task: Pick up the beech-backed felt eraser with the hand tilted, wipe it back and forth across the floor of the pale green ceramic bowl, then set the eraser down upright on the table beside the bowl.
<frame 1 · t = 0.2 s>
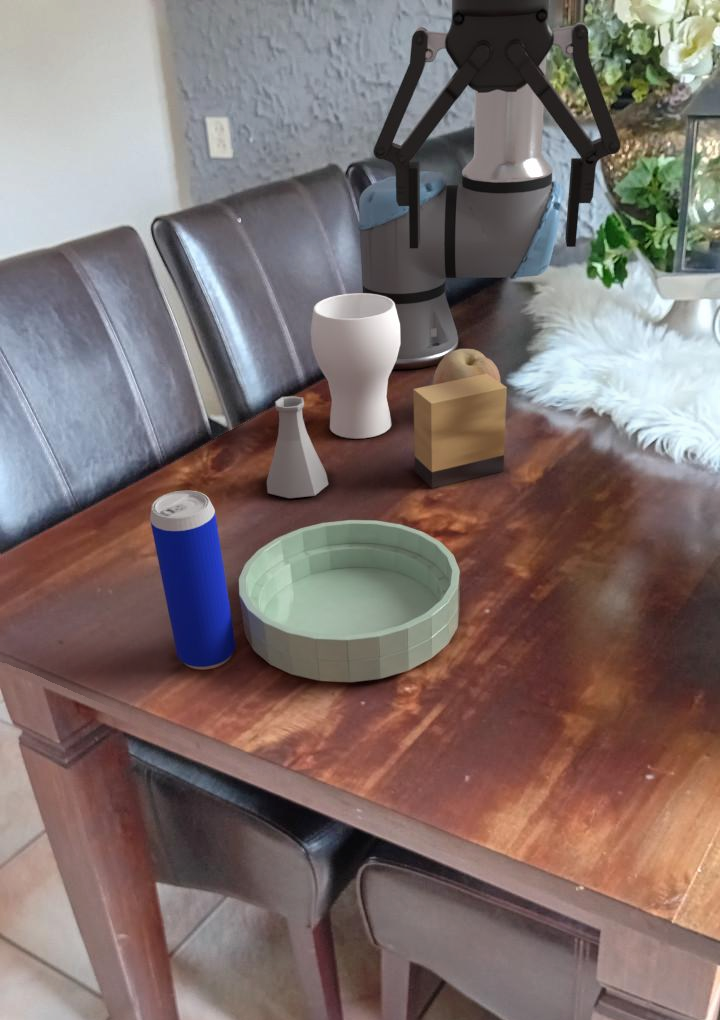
hand: (491, 243, 88), 28 cm above the table, tool pointing down, fingers open, 13 cm apart
beverage can: (207, 656, 88), on the table
bowl: (351, 620, 91), on the table
eraser: (459, 471, 114), on the table
fruit: (466, 415, 127), on the table
cup: (360, 427, 126), on the table
flask: (297, 486, 114), on the table
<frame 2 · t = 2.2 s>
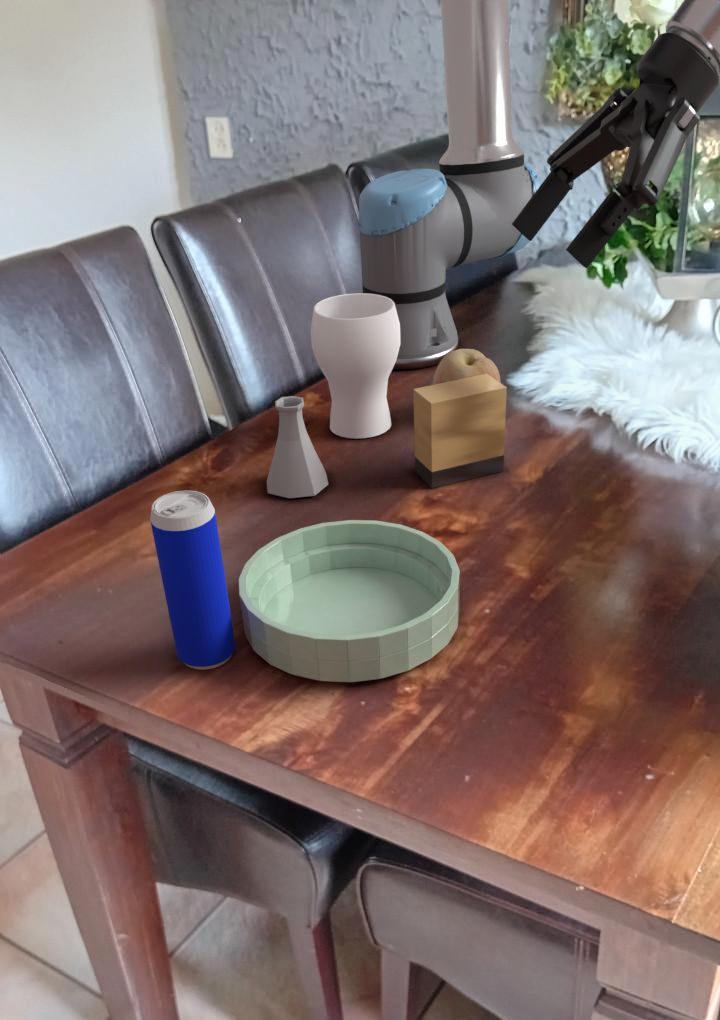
hand: (547, 245, 102), 24 cm above the table, tool tilted 45°, fingers open, 13 cm apart
nothing on the table moved.
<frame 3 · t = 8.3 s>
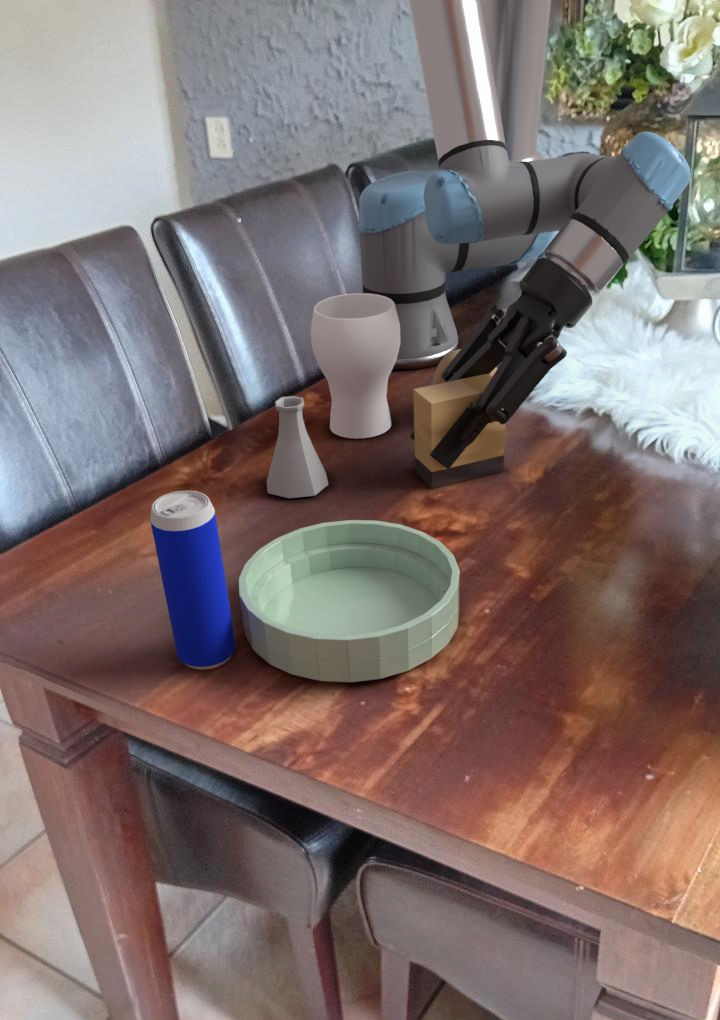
hand: (429, 452, 111), 3 cm above the table, tool tilted 45°, fingers closed on eraser, 4 cm apart
eraser: (459, 471, 114), on the table, touching gripper
everything else where it was.
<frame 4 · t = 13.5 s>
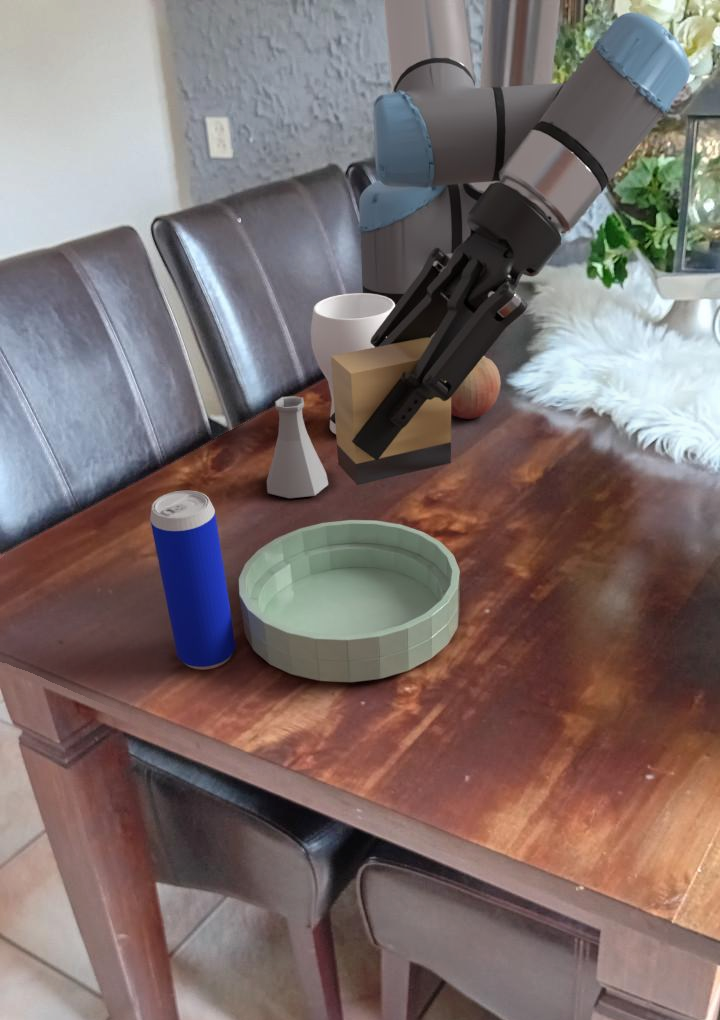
hand: (353, 439, 86), 16 cm above the table, tool tilted 45°, fingers closed on eraser, 4 cm apart
eraser: (394, 463, 89), point 12 cm above the table, touching gripper
everything else where it was.
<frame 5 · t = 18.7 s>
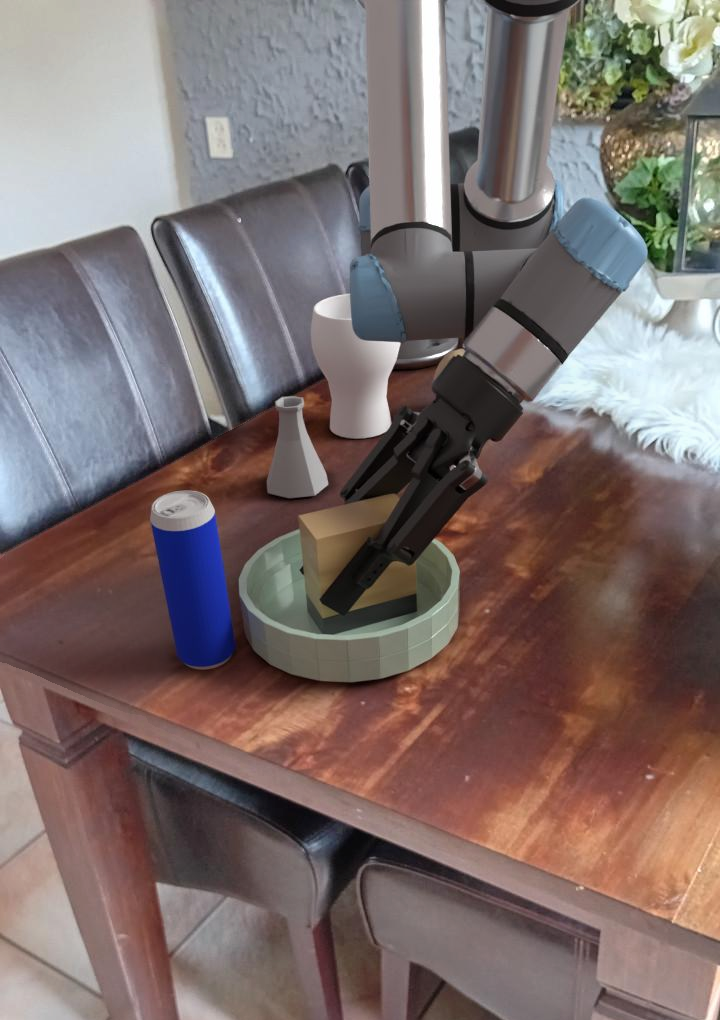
hand: (321, 592, 88), 4 cm above the table, tool tilted 45°, fingers closed on eraser, 4 cm apart
eraser: (362, 611, 91), point 1 cm above the table, touching gripper
everything else where it was.
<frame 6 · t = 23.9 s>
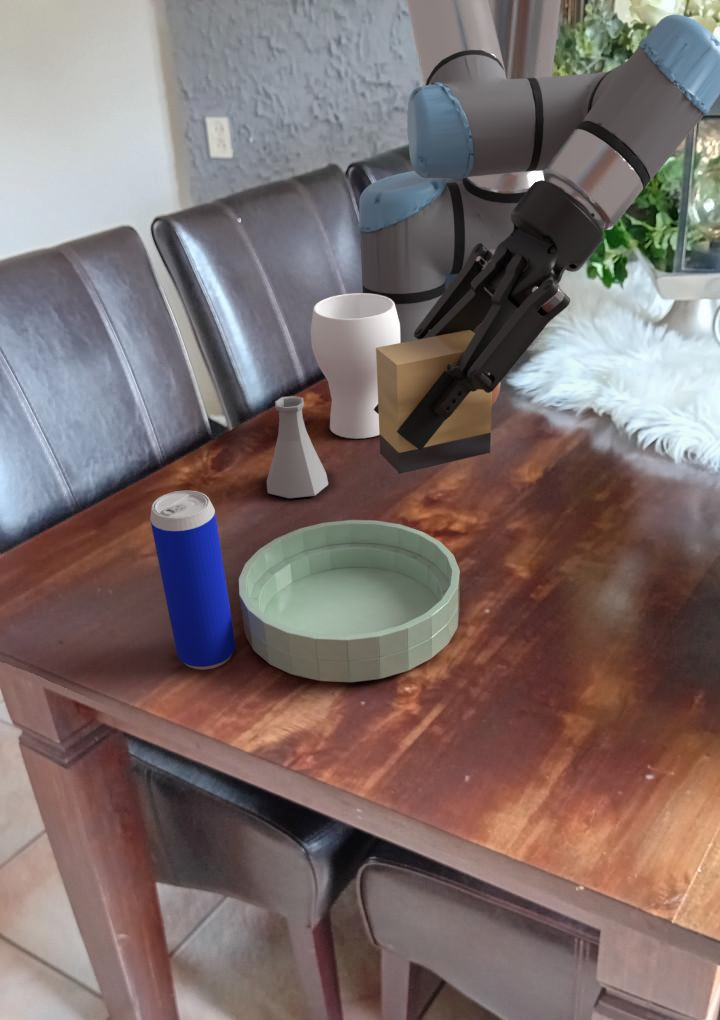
hand: (397, 429, 89), 15 cm above the table, tool tilted 45°, fingers closed on eraser, 4 cm apart
eraser: (434, 453, 92), point 12 cm above the table, touching gripper
everything else where it was.
when the fingers open (3 cm above the table, at t = 29.0 s): eraser stays where it is, on the table.
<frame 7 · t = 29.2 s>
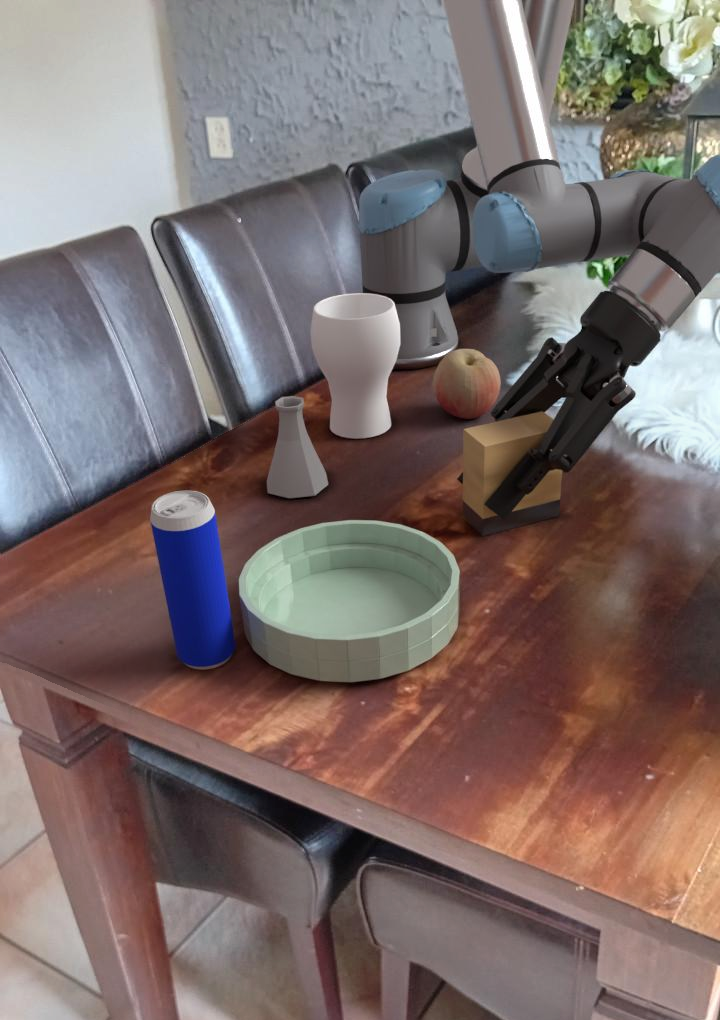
hand: (480, 498, 102), 3 cm above the table, tool tilted 45°, fingers open, 5 cm apart
eraser: (510, 516, 105), on the table
everything else where it was.
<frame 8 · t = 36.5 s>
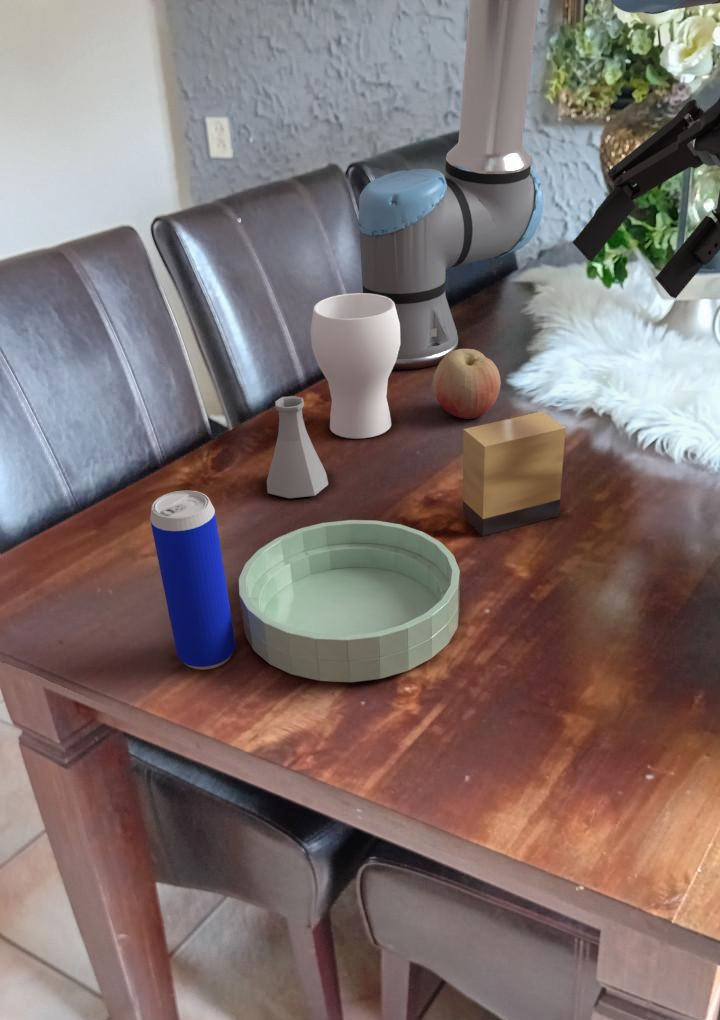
hand: (621, 269, 94), 24 cm above the table, tool tilted 45°, fingers open, 13 cm apart
nothing on the table moved.
at the end: eraser inside the target area on the table beside the bowl (0.1 cm from its centre), on the table; eraser tilted 0°; the gripper is holding nothing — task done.
